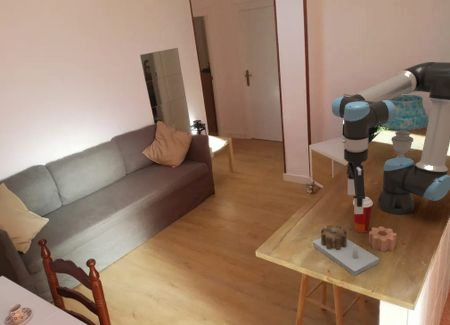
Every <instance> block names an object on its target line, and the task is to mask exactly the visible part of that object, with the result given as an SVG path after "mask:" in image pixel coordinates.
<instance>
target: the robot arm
mask: <svg viewBox="0 0 450 325" xmlns="http://www.w3.org/2000/svg"><path fill="white" fill-rule="evenodd" d="M414 92H421V93H423V92H424V93H429V97H428V99H429V101H431V108H430V113H429V116H428V120H429V122H428V126H427V127H426V133H425V138H424V142H423V145H422V146H423V147H422V152H421V157H420V160H419V161H418V162H415V161H414V159H413V158H409V157H406V158H395V157H394V158H390V159H387V160H386V161H385V162H384V167H383V175H382V176H383V182H382V190H381V192H380V195H379V197H378V200H377V206H378V208H379V209H380V210H382V211H384V212H387V213H390V214H395V215H406V214H410V213H411V212H413V211H414V210H415V202H414V197H413V195H416V196H417V197H418V196H419V197H421V198H424V199H425V200H430V201H433V202H436V201H440V200H441V199H443V198H444V197H445V196H446V195H447V194H448V193H449V191H450V175H449V174H448V171H449V167H447V165H446V160H447V156H448V151H449V146H450V62H448V61H447V62H441V61H439V62H437V61H427V62H426V61H425V62H422V63H421V62H420V63H419V64H415V65H412V66H410V67H407V68H405V69H402V70H401V71H398V72H396V75H395V76H392V77H390V78H388V79H387V80H383V81H382V82H380V83H378V84H375V85H374V86H371V87H369V88H366V89H364V90H362V91H359V92H357V93H355V94H353V95H351V96H348V97H346V96H340V97H337V98H335V99H334V100H333V102H332V105H331V112H332V114H333V115H334V116H336V117H339V118H341V119H343V120H344V121H343V129H344V130H343V131H344V132H343V133H344V138H343V140H342V143H343V145H344V146H343V147H344V150H343V159H344V160H345V161H346V162H347V169H346V175H347V196H352V197H353V199H355V201H354V204H353V215H354V214H363V199H365V197H366V192H365V190H366V189H365V179H364V178H365V177H364V175H365V174H364V173H365V172H364V171H365V170H364V167H363V165H362V163H364V162H366V161H367V160H368V158H369V157H368V156H369V155H368V154H369V149H368V148H369V130H370V129H372V128H374V127H377V126H381V124H384V123H387V122H389V121H391V120H392V119H393V118H394V117H395V115H396V107H395V105H394V104H393V103H392V102H391V101H389V100H391V99H393V98H395V97H397V96H399V95H410V94H411V93H414ZM412 194H413V195H412Z"/></svg>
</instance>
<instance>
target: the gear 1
mask: <svg viewBox="0 0 450 325" xmlns="http://www.w3.org/2000/svg"><path fill="white" fill-rule="evenodd" d="M320 238H321V244H322V246H324V245H326V246H327V249H330V250H331V248H335V249H336V250H340V247H344V248H345V247H346V239H348V238H347V230H346V229H345V228H343V229H342V227H341V226H340V225H336V226H332V225H327V227H326V228H325V227H323V228H322V229H321V232H320Z"/></svg>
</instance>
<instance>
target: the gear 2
mask: <svg viewBox="0 0 450 325" xmlns="http://www.w3.org/2000/svg"><path fill="white" fill-rule="evenodd" d="M368 245H371V249H374V250H379V251H380V252H384V253H385V252H386V251H390V252H391V251H394V250H395V247H396V246H397V233H396V232H394V230H393V229H392V228H385V227H384V226H378V227H374V226H373V227H371V229H370V230H368Z"/></svg>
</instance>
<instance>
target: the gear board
mask: <svg viewBox="0 0 450 325" xmlns="http://www.w3.org/2000/svg"><path fill="white" fill-rule="evenodd" d="M312 246H313V247H314V248H316V249H317V251H319V252H321V254H324V256H326V257H328V259H331V260H332V261H333V262H334V263H336V264H338V266H340V267H341V268H343V269H344V270H345V271H347V272H348V273H350V274H351V275H352V276H354V277H355V276H357V275H359V274H361V273H363V272H364V271H365V272H366V271H367V270H368V269H370V268H373V267H374V266H376V265H378V264H379V263H380V262H379V261H380V258H379V257H378V256H376V255H374V254H373V253H371V252H369V251H368V250H366V249H364V248H363V247H361V246H359V245H358V244H357V243H355V242H354V241H351V240H350V239H348V238H347V239H346V247H345V248H344V247H340V250H336V249H335V248H331V250H330V249H327V246H326V245H324V246H322V244H321V237H320V238H319V237H318V238H317V239H316V240H313V241H312Z"/></svg>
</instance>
